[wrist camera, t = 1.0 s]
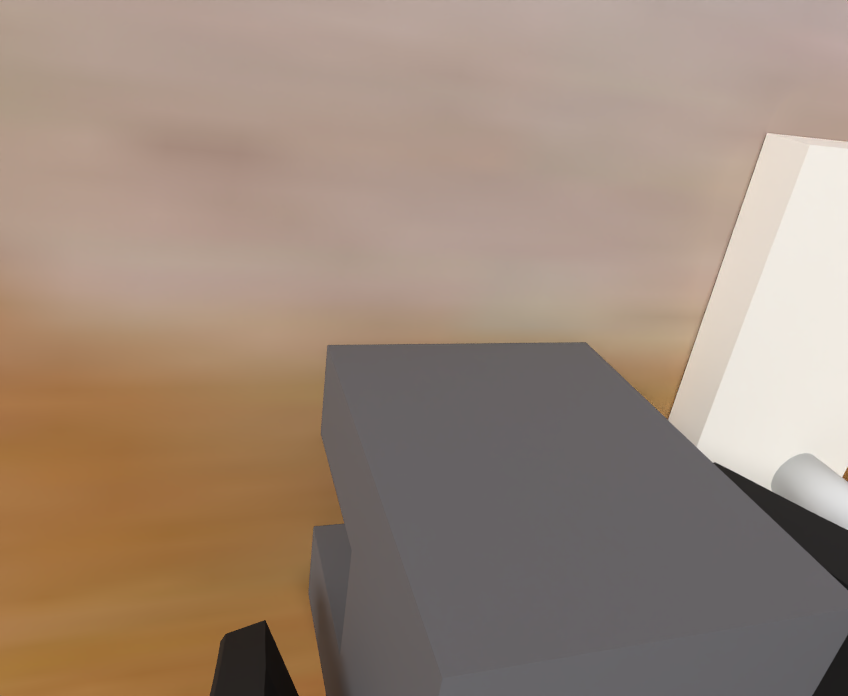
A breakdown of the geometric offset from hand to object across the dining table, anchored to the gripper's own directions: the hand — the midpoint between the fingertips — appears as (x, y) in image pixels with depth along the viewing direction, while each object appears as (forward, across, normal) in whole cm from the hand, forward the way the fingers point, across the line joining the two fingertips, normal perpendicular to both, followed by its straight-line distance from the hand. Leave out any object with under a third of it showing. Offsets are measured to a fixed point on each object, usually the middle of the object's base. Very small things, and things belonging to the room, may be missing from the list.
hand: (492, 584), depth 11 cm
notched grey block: (+3, 0, 0) cm, 3 cm away
